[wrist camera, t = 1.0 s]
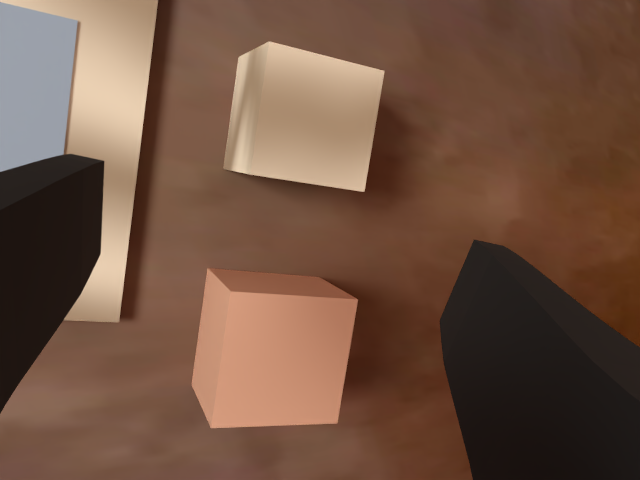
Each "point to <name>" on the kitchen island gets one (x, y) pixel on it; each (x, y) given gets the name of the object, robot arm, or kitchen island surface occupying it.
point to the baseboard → (80, 110)
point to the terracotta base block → (272, 349)
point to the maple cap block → (303, 117)
